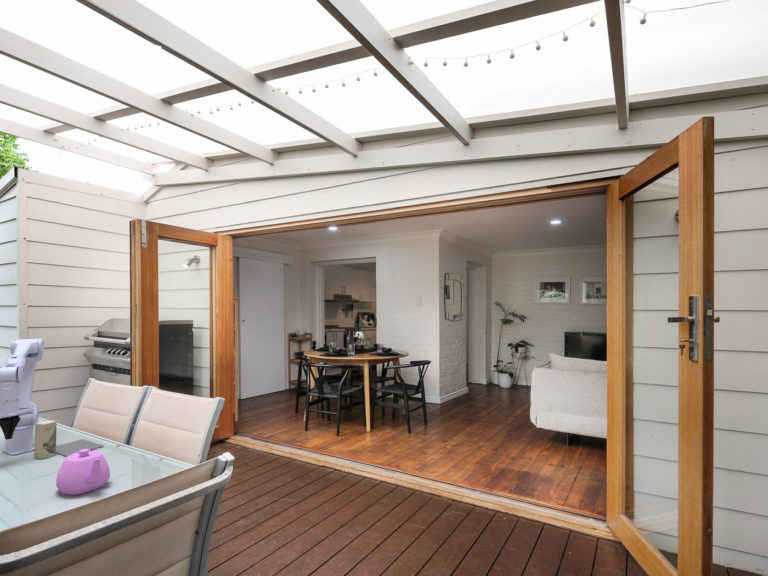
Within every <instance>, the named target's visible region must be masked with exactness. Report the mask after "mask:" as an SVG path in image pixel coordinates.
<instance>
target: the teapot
mask: <svg viewBox="0 0 768 576" xmlns="http://www.w3.org/2000/svg"><path fill="white" fill-rule="evenodd" d="M78 452H79V453H73V454H71V455H70V456H67V457H65V458H64V460H63V461H62V463H61V466H60V468H59V470H58V473H57V476H56V481H55V482H56V483H55V487H56V488H57V489H58V490H59V492H61V493H62V494H64V495H69V496H70V495H71V496H79V495H81V494H85V493H88V492H91V491H94V490H96V489H99V488H102V487H104V486H106V485H107V483H108V481H109V480H110V478H111V470H110V466H109V463H108V461H107V459H106V457H105V456H104V454H103V453H102V452H100V451H98V450H92V451H90V449H82V450H80V451H78Z"/></svg>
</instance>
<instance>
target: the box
mask: <svg viewBox="0 0 768 576" xmlns="http://www.w3.org/2000/svg"><path fill="white" fill-rule="evenodd" d="M57 422H58V421H57V420H50V419H49V420H45V421H41V422H38V423H37V424H35V425H34V443H33V446H34V450H33V451H34V452H33V453H34V454H33V458H34V459H36V458H38V460H44V459H47V458H50V457H53V456H57V454H56V446H57V424H58V423H57Z"/></svg>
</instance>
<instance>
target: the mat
mask: <svg viewBox="0 0 768 576" xmlns="http://www.w3.org/2000/svg"><path fill="white" fill-rule="evenodd" d="M103 446H105V445H103V444H101V443H96V442H93V441H90V440H87V439H83V438H81V439H78V440H74V441H70V442H65V443H63V444H58V445H56V455H59V456H62V457H65V458H66V457H67V456H70V455H71V454H73V453H79V452H78V451H80V450H82V449H90V450H92V451H95V450H98V449H97V448H99V449H101V448H100V447H102V448H104V447H103ZM94 449H95V450H94Z"/></svg>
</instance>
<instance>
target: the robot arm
mask: <svg viewBox="0 0 768 576" xmlns="http://www.w3.org/2000/svg"><path fill="white" fill-rule="evenodd" d="M9 346H10V348H9V349H10V354H11V355H10V356H9V357H7V358H6V361H5V362H4V364H3V366H2V367H0V428H1V431H2V433H3V436H4V437H3V438H4V439H5V449H2V450H1V451H2V452H3V453H6V454H9V455H11V456H15V455H19V454H24V453H27V452H28V453H29V452H31V451H34V427H35V424H37V423H39V418H40V417H39V415H40V414H39V409H40V408H39V406H38V404H36V403H34V402H33V401H32V397H33V396H32V395H33V387H34V380H35V372H36V366H37V363H38V362H39V361H41V360H42V359H43V357H44V350H45V341H44V339H43V338H42V337H41V338H25V339H24V338H23V339H21V338H20V339H19V338H14V339H12V340H11V342H10V345H9Z"/></svg>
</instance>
